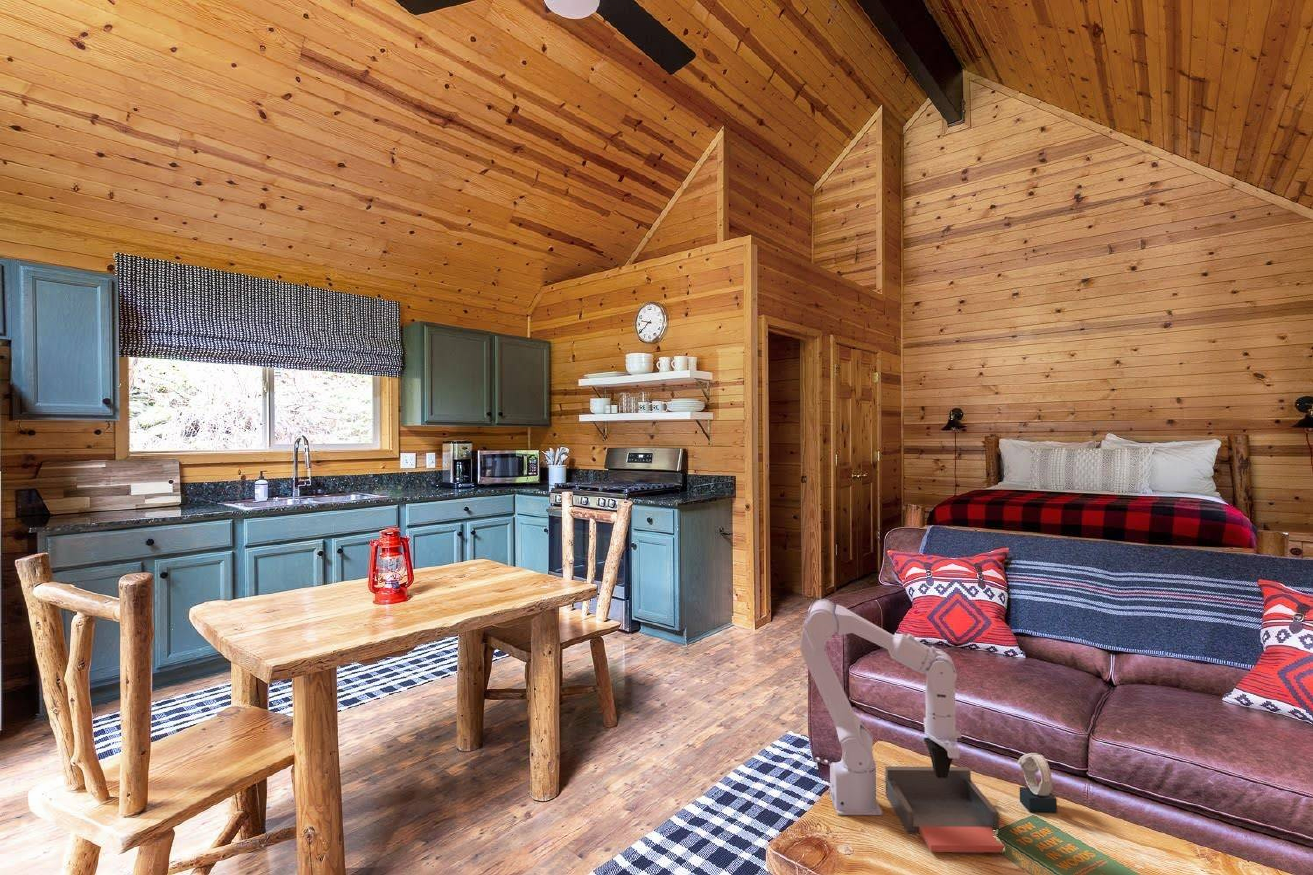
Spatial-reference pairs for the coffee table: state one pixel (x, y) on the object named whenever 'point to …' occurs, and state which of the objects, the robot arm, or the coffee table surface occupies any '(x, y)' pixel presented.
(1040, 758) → the ring sculpture
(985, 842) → the panel
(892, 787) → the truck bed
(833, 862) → the coffee table surface
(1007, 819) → the coffee table surface
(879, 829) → the coffee table surface
